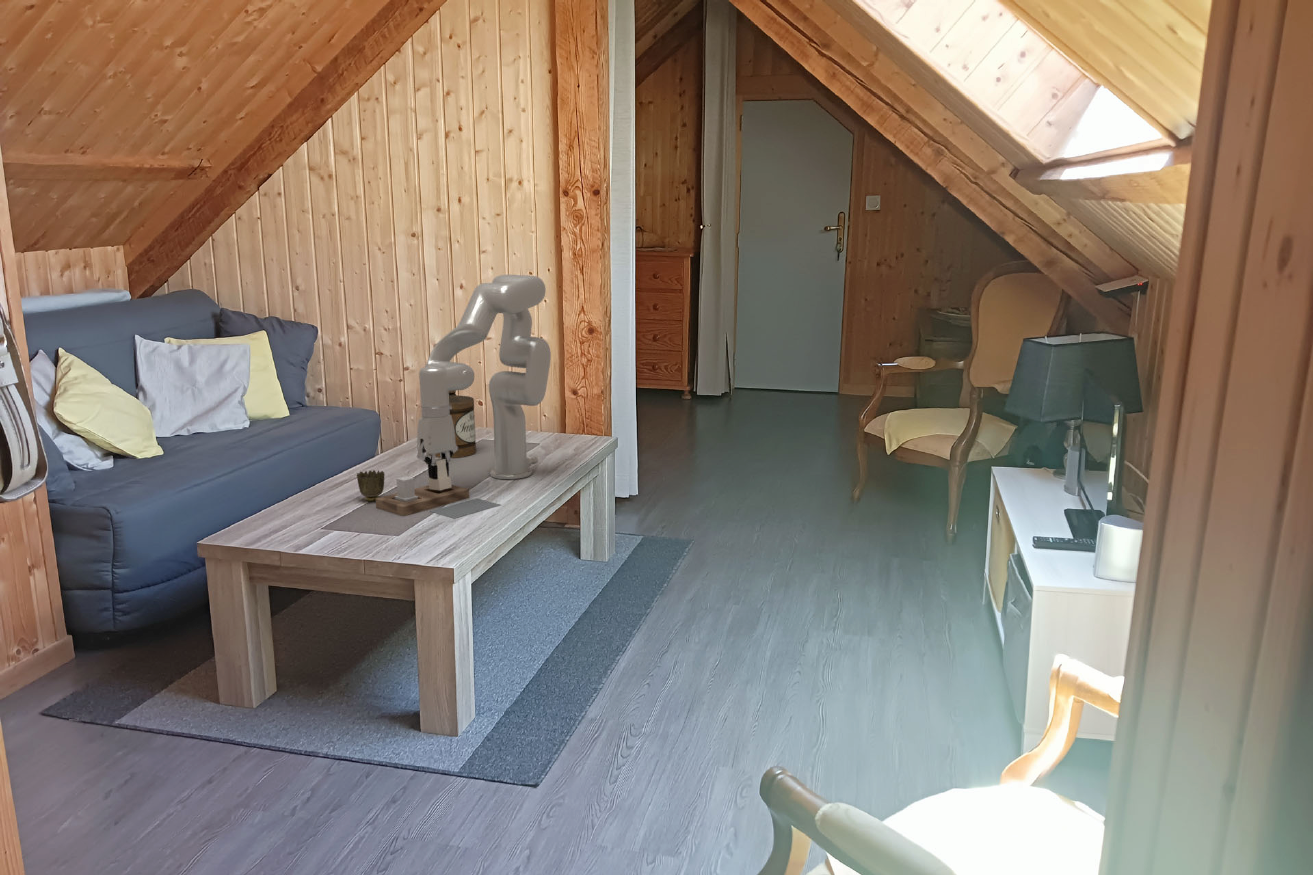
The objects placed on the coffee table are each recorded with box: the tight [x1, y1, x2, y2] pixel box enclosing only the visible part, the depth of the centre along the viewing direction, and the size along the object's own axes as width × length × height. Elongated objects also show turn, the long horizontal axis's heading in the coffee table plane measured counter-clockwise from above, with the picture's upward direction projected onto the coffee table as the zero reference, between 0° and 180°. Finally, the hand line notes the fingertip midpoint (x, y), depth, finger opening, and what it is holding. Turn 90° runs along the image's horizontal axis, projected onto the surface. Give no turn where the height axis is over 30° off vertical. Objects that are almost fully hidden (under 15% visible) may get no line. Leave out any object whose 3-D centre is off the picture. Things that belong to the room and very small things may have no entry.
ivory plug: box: [427, 457, 452, 490], centre depth 273 cm, size 4×5×8 cm
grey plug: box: [395, 475, 418, 503], centre depth 266 cm, size 4×5×8 cm
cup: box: [356, 469, 386, 502], centre depth 273 cm, size 8×7×8 cm
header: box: [375, 484, 470, 517], centre depth 270 cm, size 22×12×3 cm, turn 140°
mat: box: [430, 497, 501, 520], centre depth 266 cm, size 16×10×1 cm, turn 140°
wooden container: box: [436, 390, 477, 459], centre depth 327 cm, size 15×15×22 cm
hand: (439, 476), depth 274 cm, fingers closed on ivory plug, 3 cm apart
